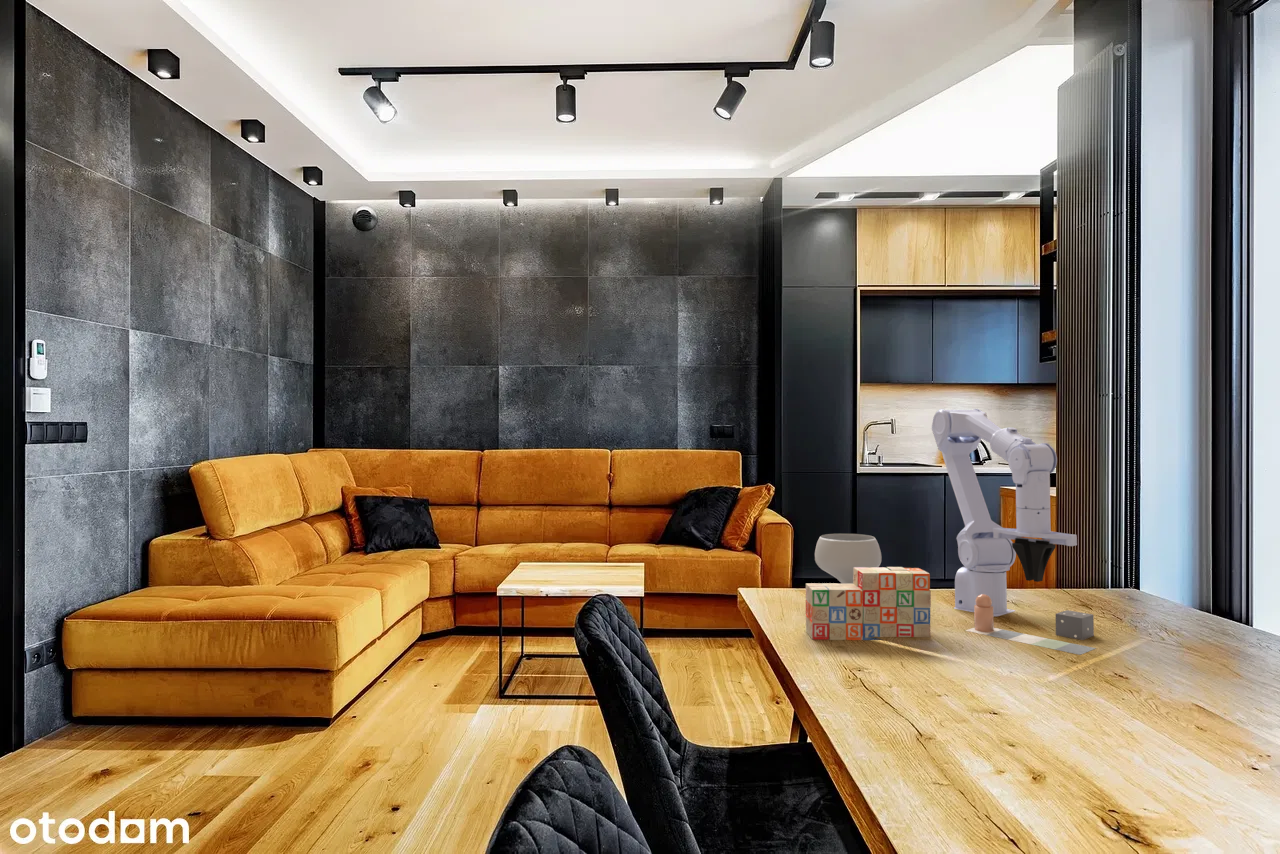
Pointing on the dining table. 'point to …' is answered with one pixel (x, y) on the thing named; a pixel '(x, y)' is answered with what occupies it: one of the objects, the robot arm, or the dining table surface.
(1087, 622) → the die
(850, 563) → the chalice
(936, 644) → the dining table surface
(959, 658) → the dining table surface
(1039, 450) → the robot arm
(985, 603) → the pawn
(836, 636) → the stack of blocks
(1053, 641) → the board
